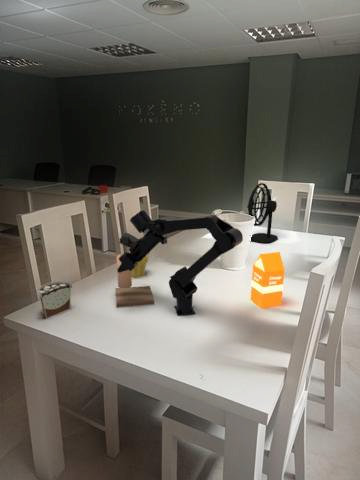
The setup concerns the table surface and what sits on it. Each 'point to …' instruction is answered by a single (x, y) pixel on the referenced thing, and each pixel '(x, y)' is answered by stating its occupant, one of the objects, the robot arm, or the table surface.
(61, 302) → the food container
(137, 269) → the plant pot
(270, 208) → the desk fan
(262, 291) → the orange juice
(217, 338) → the table surface
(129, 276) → the pillar candle
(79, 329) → the table surface
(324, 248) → the table surface
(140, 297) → the walnut board
